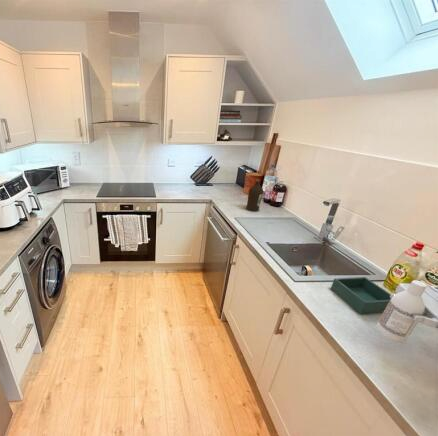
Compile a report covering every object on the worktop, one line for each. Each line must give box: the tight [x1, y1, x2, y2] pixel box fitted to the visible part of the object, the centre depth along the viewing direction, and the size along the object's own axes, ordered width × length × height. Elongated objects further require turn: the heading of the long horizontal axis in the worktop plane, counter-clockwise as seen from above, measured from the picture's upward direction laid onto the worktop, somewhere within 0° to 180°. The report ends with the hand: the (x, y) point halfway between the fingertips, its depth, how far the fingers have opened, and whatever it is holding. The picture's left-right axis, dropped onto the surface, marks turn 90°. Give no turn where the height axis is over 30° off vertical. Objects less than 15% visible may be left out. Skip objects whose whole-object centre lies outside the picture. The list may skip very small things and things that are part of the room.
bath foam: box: [376, 279, 428, 343], centre depth 71 cm, size 7×7×20 cm
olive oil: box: [246, 178, 264, 212], centre depth 190 cm, size 11×11×25 cm
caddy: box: [330, 276, 392, 315], centre depth 98 cm, size 15×15×6 cm
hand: (402, 306), depth 71 cm, fingers closed on bath foam, 7 cm apart
